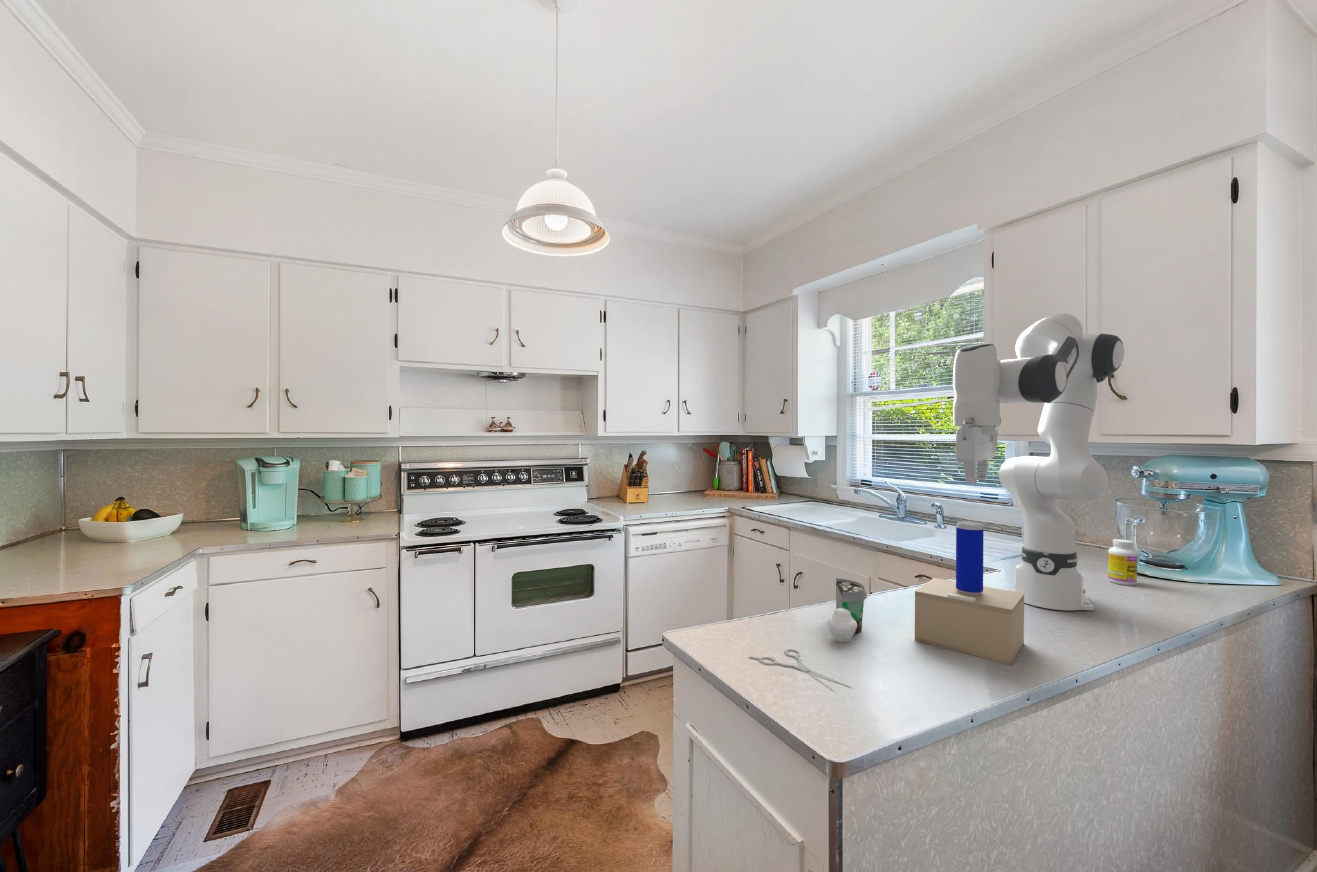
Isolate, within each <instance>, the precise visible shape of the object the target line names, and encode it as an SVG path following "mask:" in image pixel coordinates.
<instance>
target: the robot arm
mask: <svg viewBox="0 0 1317 872" xmlns="http://www.w3.org/2000/svg"><path fill="white" fill-rule="evenodd" d="M1015 354H1016V356H1017V358H1014V359H1013V358H1012V359H1010V358H1009V359H1002V358H1000V357H999V352H998V347H997V345H996V344H995V343H993V342H992V343H991V342H983V343H977V344H972V345H970V344H969V345H966V346H962V347H960V348H959V349H957V351H956V353H955V356H954V360H953V368H952V369H953V372H952V375H953V376H952V387H953V390H954V400H953V402H952V405H953V407H952V415H953V416H952V418H953V419H952V420H953V421H952V426H953V427H958V428H956V434H955V452H954V453H955V462H956V463H958V464H960V463H961V464H962V465H963V467H962V468H963V472H964V475H965V484H969V485H974V484H976V483H977V480H978V481H983V480H987V478H988V477H987V476H988V475H987V474H988V473H987V472H988V468H989V465H990V464H989V463H990V462H989V460H991V459H994V458H995V456H996V453H997V448H998V445H997V444H998V434H999V433H998V432H999V429H998V427H1000V426H1001V425H1002V419H1001V404H1013V403H1014V404H1016V403H1019V404H1020V403H1036V404H1037V403H1042V404H1043V408H1042V412H1041V415H1040V419H1039V422H1038V425H1037V433H1038V435H1039V438H1040V439H1041V440H1043V442H1045V443H1046V444H1048V445H1049V446H1050V455H1049V456H1039V455H1038V456H1035V455H1034V456H1033V455H1024V456H1015V457H1010V458H1008V459H1006V460H1005V461H1004V462H1003V463H1001V466H1000V468H999V472H998V473H999V474H998V476H999V481H1000V484H1001V486H1002V487H1003V488H1004V489H1005V490H1007V491H1008V493H1010V495H1011V496H1012V497H1013V499H1014V500H1015V501H1016V503H1017V505H1018V508H1019V511H1020V513H1021V516H1022V523H1023V546H1022V548H1021V552H1020V553H1021V563H1019V564H1017V566H1015V567H1014V584H1013V585H1014V586H1013V588H1011V589H1009V590H1008V591H1013V592H1019V593H1024V604H1027V605H1030V606H1034V607H1040V608H1044V609H1050V610H1058V611H1094V605H1093V604H1092V602H1091V600H1090V599H1089V598H1088V596H1087V594H1086V590H1085V588H1084V576H1083V575H1082V574H1081V572H1079V571H1078V570H1077V568H1076V567H1077V566H1078V557H1077V556H1078V555H1077V552H1076V548H1075V547H1076V526H1075V523H1074V521H1073V520H1072V518H1071V517H1070V516H1069V515H1066V514H1065V513H1064V512H1063V511H1062V510H1061V509H1060V508H1059V506H1058V504H1057V503H1056V500H1063V501H1072V502H1077V501H1079V502H1080V501H1092V500H1093V501H1094V500H1097V499H1099V498H1100V497H1102V495H1104V493H1105V492H1106V490H1107V488H1108V483H1109V479H1108V474H1107V472H1106V470H1105V469H1104V467H1103V466H1102V465H1101V464H1099V462H1097V461H1096V459H1095V458H1094V457H1093V455H1092V453H1091V450H1090V447H1089V446H1090V445H1089V437H1090V430H1091V426H1092V422H1093V418H1094V415H1095V410H1096V406H1097V399H1098V383H1101V382H1102V383H1103V382H1104V381H1105V380H1106V379H1107V378H1108V377H1110V376H1112V375H1113V374H1114V373H1115V372H1116V371H1118V370H1119V368H1120V367H1121V365H1122V363H1123V360H1124V358H1125V348H1124V343H1123V341H1122V339H1121V338H1120V337H1119V336H1118V335H1114V334H1110V333H1109V334H1108V333H1100V334H1097V333H1096V334H1094V333H1084V327H1083V324H1082V322H1081V320H1079V319H1078V318H1077V317H1076V316H1074V315H1072V314H1069V313H1056V314H1051V315H1050V316H1046V317H1044V318H1041V319H1040V320H1038V321H1036V322H1035V323H1032V325H1030V326H1028V328H1026V329H1025V330H1024V331H1022V332H1021V334H1020V335H1019V336H1018V338H1017V340H1016V343H1015Z"/></svg>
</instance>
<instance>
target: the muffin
mask: <svg viewBox="0 0 1317 872" xmlns="http://www.w3.org/2000/svg"><path fill="white" fill-rule="evenodd" d="M827 625H828V628H829V631H830V632H831V635H832V636H833V638H834V640H835V641H837V642H840V643H848V642H850V641H851V639H852V638H853V636H855V634H854V633H855V631H856V628H857V623H856V621H855V620H854V619H853V618H852V616H851V613H850V611H849V610H847V609H845V608H838V609H834V610H833V614H832V615H831V616H830V617H829V618H828V619H827Z"/></svg>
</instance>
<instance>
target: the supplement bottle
mask: <svg viewBox="0 0 1317 872" xmlns="http://www.w3.org/2000/svg"><path fill="white" fill-rule="evenodd" d="M1112 545H1113V546H1112V547H1110V548H1109V549H1108V552H1107V553H1108V557H1107V558H1108V563H1107V564H1108V565H1107V580H1108V581H1109V582H1110V583H1112V584H1117V585H1120V584H1121V585H1120V586H1135V585H1137V584H1138V583H1137V582H1138V580H1137V579H1138V578H1137V577H1138V552H1137V551H1136V550H1134V549H1133V547H1134V541H1133V540H1130V539H1129V540H1128V539H1119V538H1114V539H1112Z"/></svg>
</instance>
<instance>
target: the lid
mask: <svg viewBox="0 0 1317 872" xmlns="http://www.w3.org/2000/svg"><path fill="white" fill-rule="evenodd" d="M915 596H919V597H924V598H929V599H935V600H940V601H945V602H950V603H955V604H960V605H965V606H970V607H975V608H980V609H985V610H990V611H995V612H1000V613H1005V614H1010V615H1012V614H1013V613H1014V612H1015V610H1016V609H1017V607H1018V606H1019V605H1020V603H1021V602H1022V601H1023V599H1024V593H1019V592H1013V591H1009V590H1007V589H1002V588H995V587H989V586H985V585H983V592H982V593H981V594H980V595H968V594H963V593H960V592H959V591H958V590H957V589H956V580H948V579H943V578H938V577H933V578H931V579H930V580H928V581H927V582H926V583H925V584H923V585H921V586H920V587H919V588H917V589H916V590H915V591H914V597H915Z"/></svg>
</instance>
